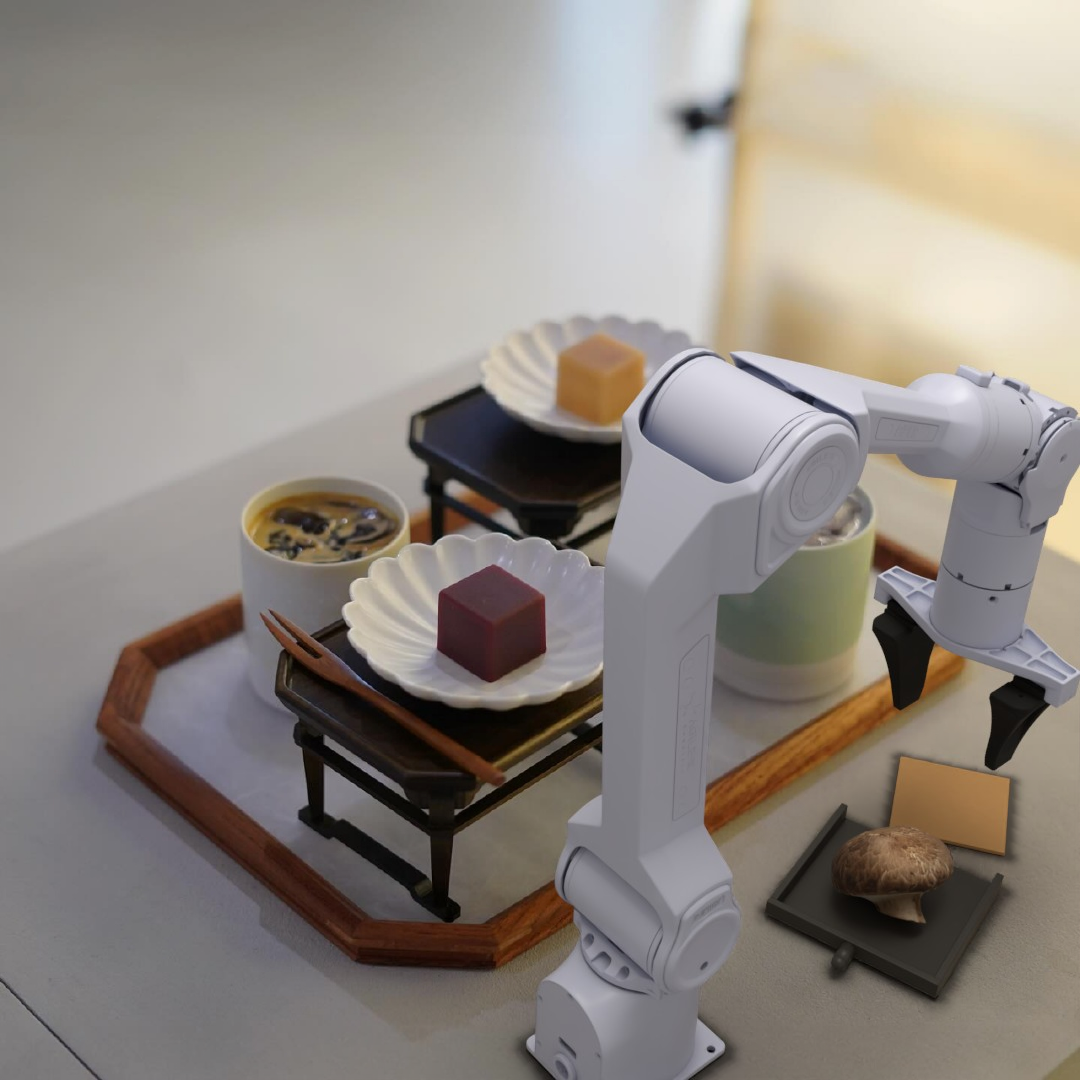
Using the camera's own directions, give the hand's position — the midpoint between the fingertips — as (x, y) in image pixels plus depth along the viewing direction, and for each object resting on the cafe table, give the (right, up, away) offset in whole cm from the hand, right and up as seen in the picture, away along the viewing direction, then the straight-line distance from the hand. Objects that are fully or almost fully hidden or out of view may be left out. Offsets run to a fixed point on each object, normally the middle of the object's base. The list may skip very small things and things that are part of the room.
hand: (950, 731), depth 102 cm
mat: (+2, -6, +9) cm, 11 cm away
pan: (-5, -12, 0) cm, 13 cm away
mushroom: (-4, -11, +1) cm, 12 cm away
